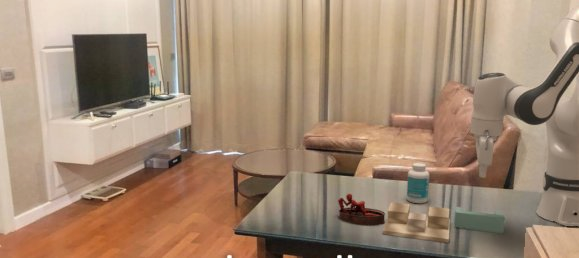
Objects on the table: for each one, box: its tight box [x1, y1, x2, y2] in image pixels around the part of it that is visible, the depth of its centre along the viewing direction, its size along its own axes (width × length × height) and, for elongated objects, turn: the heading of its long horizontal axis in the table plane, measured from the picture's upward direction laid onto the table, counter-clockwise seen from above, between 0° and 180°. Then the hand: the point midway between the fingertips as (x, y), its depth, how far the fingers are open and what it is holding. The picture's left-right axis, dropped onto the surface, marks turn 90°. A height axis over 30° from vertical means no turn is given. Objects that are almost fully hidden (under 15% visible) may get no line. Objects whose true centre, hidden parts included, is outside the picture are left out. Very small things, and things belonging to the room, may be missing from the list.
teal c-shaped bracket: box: [454, 206, 506, 234], centre depth 153 cm, size 14×12×5 cm
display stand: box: [382, 201, 451, 244], centre depth 149 cm, size 19×16×5 cm
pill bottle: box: [406, 162, 430, 204], centre depth 173 cm, size 8×7×14 cm
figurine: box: [337, 193, 386, 227], centre depth 157 cm, size 15×10×10 cm, turn 82°
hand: (481, 172), depth 146 cm, fingers open, 8 cm apart
